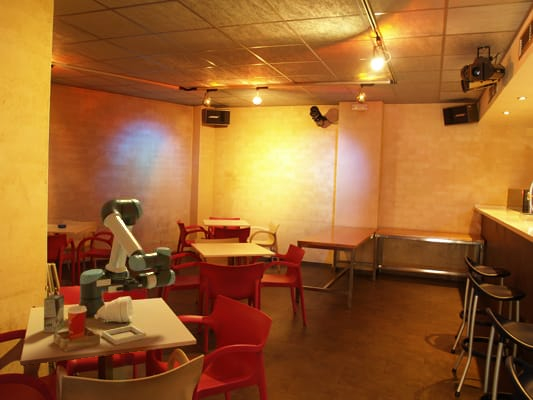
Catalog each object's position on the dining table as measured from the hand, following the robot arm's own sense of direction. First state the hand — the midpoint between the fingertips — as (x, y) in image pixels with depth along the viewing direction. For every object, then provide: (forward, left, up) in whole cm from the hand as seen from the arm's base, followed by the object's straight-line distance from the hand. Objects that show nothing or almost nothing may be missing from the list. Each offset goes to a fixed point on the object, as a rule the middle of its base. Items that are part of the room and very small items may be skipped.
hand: (102, 286), depth 210 cm
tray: (+5, +8, -24) cm, 26 cm away
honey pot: (-14, +21, -17) cm, 30 cm away
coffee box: (-25, -14, -24) cm, 37 cm away
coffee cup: (0, -11, -23) cm, 26 cm away
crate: (0, -12, -24) cm, 27 cm away
